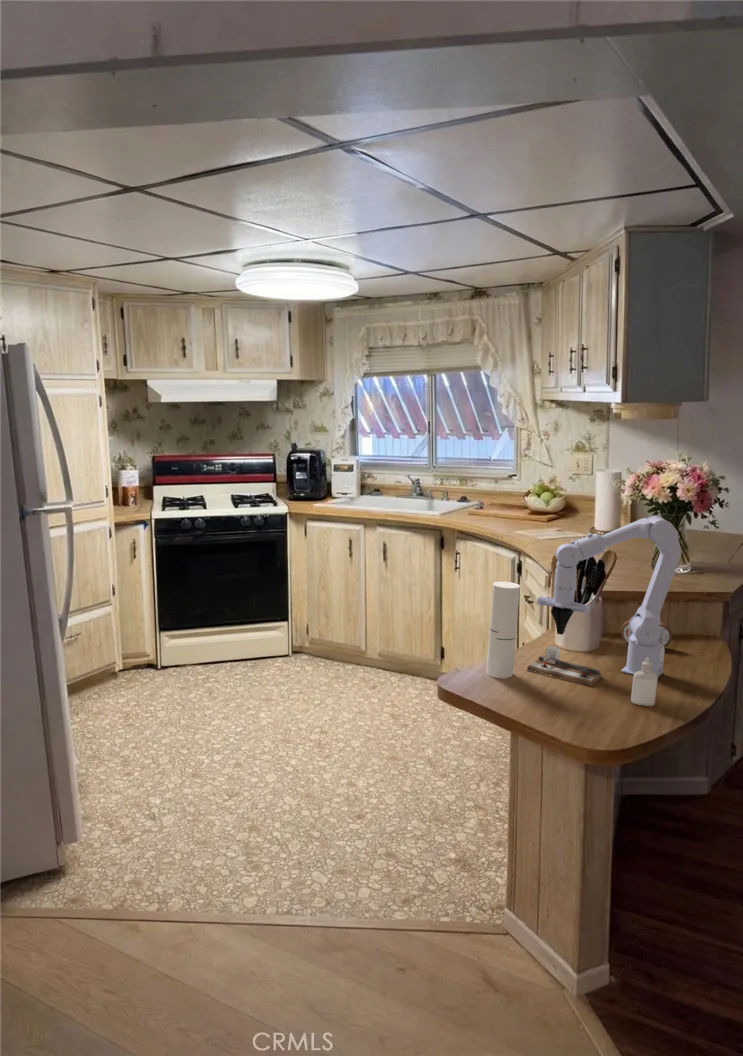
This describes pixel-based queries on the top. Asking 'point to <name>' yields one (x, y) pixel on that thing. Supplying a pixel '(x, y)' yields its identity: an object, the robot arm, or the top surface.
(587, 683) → the gauge board
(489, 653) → the cylindrical container
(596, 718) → the top surface
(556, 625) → the robot arm
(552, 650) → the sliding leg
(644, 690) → the eye dropper bottle
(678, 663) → the top surface
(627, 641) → the tin
